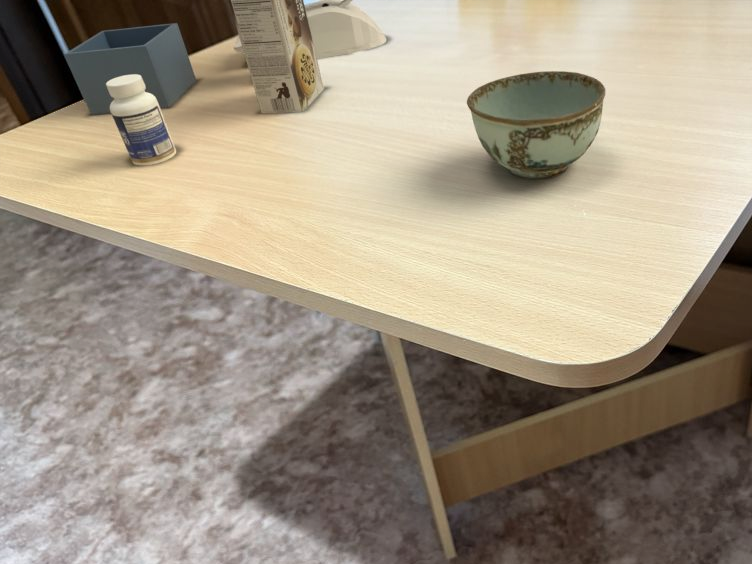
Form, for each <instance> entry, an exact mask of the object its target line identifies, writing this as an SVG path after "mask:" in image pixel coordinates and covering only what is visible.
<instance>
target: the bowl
mask: <svg viewBox="0 0 752 564" xmlns="http://www.w3.org/2000/svg"><path fill="white" fill-rule="evenodd" d="M605 96H606V88H605V85H604V84H603V83H602V82H601V81H600V80H599V79H597V78H595V77H593V76H590V75H587V74H584V73H580V72H576V71H575V72H573V71H563V70H560V71H558V70H551V71H534V72H527V73H520V74H514V75H511V76H506V77H503V78H498V79H495V80H492V81H489V82H487V83H485V84H483V85H481V86H479V87H477V88H475V89H474V90H473V91H472V92H471V93H470V94H469V95H468V97H467V99H466V105H467V108H468V109H469V111H470V113H471V119H472V122H473V126H474V130H475V133H476V136H477V139H478V140H479V142H480V144H481V146H482V147H483V149H484V151H485V152H486V153H487V154H488V156H489V157H490V158H491V159H492V160H493V161H495V162H496V163H497V164H498V165H500V166H501V167H504V168H505V169H506V170H507V169H508V170H509V172H510V174H512V175H513V176H515V177H517V178H520V179H525V180H534V181H535V180H545V179H550V178H554V177H557V176H559V175H561V174H563V173H565V172H566V171H567V170H568V168H569V166H570V165H572V164H573V163H575V162H576V161H578V160H579V159H580V158H582V157H583V155H584V154H585V153H586V152H587V151H588V150H589V148H590V147H591V145H592V144H593V142H594V140H595V139H596V137H597V135H598V133H599V129H600V126H601V122H602V117H603V106H604V99H605V98H606V97H605Z"/></svg>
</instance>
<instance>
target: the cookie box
mask: <svg viewBox="0 0 752 564" xmlns="http://www.w3.org/2000/svg"><path fill="white" fill-rule="evenodd" d="M228 3H229V6H230V10H231V13H232V17H233V20H234V24H235V27H236V30H237V34H238V36H239V37H240V41H241V44H242V48H243V51H244V53H243V54H244V55H243V56H244V58H245V62H246V65H247V67H248V73H249V75H250V78H251V82H252V86H253V89H254V93H255V96H256V99H257V102H258V105H259V108H260V113H261V114H283V113H285V114H286V113H302V112H304V111H305V110H306V109H307V108H308V107H309V106H310V105H311V104H312V103H313V102H314V100H316V98H317V97H319V95H320V94H321V93H322V92H323V91H324V90H325V87H324V83H323V79H322V75H321V70H320V66H319V62H318V58H317V57H316V53H315V49H314V44H313V40H312V35H311V31H310V27H309V23H308V19H307V15H306V10H305V6H304V5H305V1H304V0H228Z"/></svg>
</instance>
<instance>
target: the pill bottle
mask: <svg viewBox="0 0 752 564" xmlns="http://www.w3.org/2000/svg"><path fill="white" fill-rule="evenodd" d="M106 86H107V88H108V91H109V93H110V95H111V97H114V100H113V101H112V103H111V104H110V111H111V114H110V115H112V119H113V121H114V123H115V125H116V128H117V130H118V132H119V134H120V137H121V139H122V142H123V144H124V147H125V149H126V150H127V153H128V156H129V158H130V159H131V162H132V164H134V165H135V166H151V165H156V164H160V163H163V162H166V161H168V160H170V159H171V158H173V157H174V156H175V155H176V154H177V148H176V145H175V143H174V141H173V138H172V136H171V133H170V129H169V128H168V124H167V122H166V119H165V118H164V115H163V112H162V109H160V106H159V104H158V101H157V99H156V97H155V96H154V95H152V94H151V93H147V92H145V89H146V87H145V84H144V82H143V79H142V77H141V75H137V74H132V75H124V76H120V77H117V78H114V79H111V80H109V81H108V82H107V83H106Z"/></svg>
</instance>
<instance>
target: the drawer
mask: <svg viewBox="0 0 752 564" xmlns="http://www.w3.org/2000/svg"><path fill="white" fill-rule="evenodd" d="M63 56H64V58H65V61H66V63H67V65H68V67H69V69H70V71H71V74H72V76H73V78H74V81H75V83H76V85H77V88H78V89H79V92H80V94H81V96H82V99H83V100H84V103H85V105H86V108H87V110H88V112H89V113H90V116H99V115H107V114H108V115H109V114H110V115H112V114H111V111H110V104H111V103H112V101H113V100H114V97H111V95H110V93H109V91H108V88H107V86H106V83H107V82H108V81H109V80H111V79H114V78H117V77H120V76H124V75H132V74H137V75H141V77H142V79H143V82H144V84H145V87H146V89H145V92H147V93H151V94H152V95H154V96H155V97H156V99H157V101H158V104H159V106H160V109H161V110H164V109H170V108H171V107H172V106H173V105H174V104H175V103H176V102H177V101H178V100H179V99H180V98H181V97H182V96H183V95H185V93H186V92H188V90H190V88H192V86H194V84H195V83H196V82H197V77H196V75H195V72H194V68H193V66H192V63H191V60H190V57H189V54H188V51H187V48H186V45H185V42H184V39H183V36H182V33H181V30H180V28H179V25H178V23H177V22H174V23H164V24H154V25H146V26H137V27H136V26H135V27H128V28H127V27H125V28H116V29H108V30H107V29H105V30H101V31H100V32H98V33H96V34H95V35H93V36H91V37H90V38H88V39H87V40H85V41H83V42H81V43H80V44H78V45H77V46H75V47H73V48H72V49H70V50H69V51H67V52H65V53H64V54H63Z"/></svg>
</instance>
